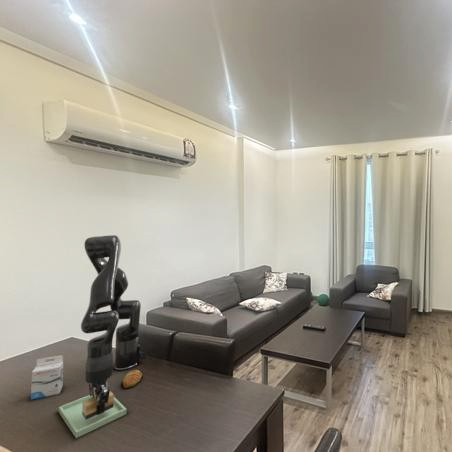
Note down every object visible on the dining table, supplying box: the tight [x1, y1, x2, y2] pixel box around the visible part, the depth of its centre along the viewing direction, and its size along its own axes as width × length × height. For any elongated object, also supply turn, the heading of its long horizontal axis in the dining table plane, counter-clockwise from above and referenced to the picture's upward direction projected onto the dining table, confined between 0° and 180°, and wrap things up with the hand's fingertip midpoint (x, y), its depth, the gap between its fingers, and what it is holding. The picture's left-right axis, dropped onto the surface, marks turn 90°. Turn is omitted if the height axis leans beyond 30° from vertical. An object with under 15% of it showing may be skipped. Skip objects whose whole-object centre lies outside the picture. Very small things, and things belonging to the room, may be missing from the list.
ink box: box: [30, 354, 64, 401], centre depth 113 cm, size 8×5×15 cm, turn 123°
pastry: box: [122, 369, 143, 389], centre depth 122 cm, size 9×7×4 cm
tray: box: [58, 394, 127, 439], centre depth 103 cm, size 14×21×2 cm
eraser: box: [82, 390, 115, 420], centre depth 100 cm, size 8×4×5 cm, turn 147°
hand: (98, 410), depth 100 cm, fingers closed on eraser, 4 cm apart
